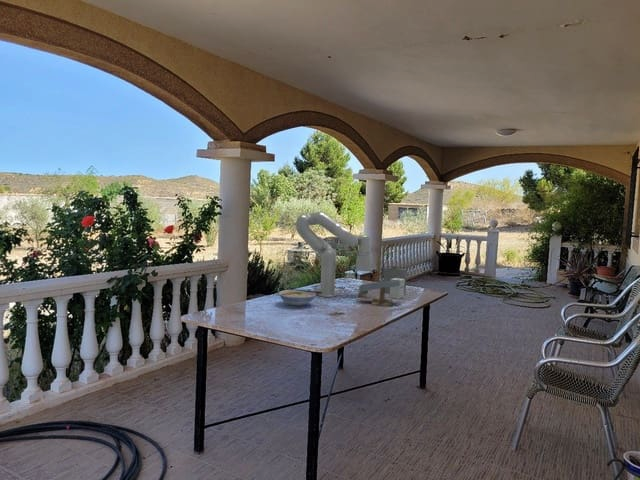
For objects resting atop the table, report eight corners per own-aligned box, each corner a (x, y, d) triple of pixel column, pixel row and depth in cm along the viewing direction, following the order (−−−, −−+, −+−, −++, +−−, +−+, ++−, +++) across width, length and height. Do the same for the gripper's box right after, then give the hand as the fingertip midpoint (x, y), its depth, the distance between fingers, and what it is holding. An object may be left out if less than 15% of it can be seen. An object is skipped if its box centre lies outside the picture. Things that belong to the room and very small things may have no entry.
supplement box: (399, 299, 307) (399, 280, 306) (389, 297, 311) (389, 278, 310) (404, 297, 312) (405, 279, 311) (394, 296, 317) (395, 277, 316)
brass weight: (357, 297, 309) (358, 286, 308) (358, 295, 314) (358, 285, 313) (365, 297, 308) (365, 287, 307) (365, 296, 313) (366, 286, 312)
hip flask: (405, 293, 326) (407, 265, 324) (404, 294, 322) (406, 266, 321) (383, 291, 332) (384, 264, 330) (382, 292, 328) (383, 264, 326)
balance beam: (360, 295, 290) (359, 287, 289) (362, 292, 299) (360, 284, 299) (400, 289, 285) (399, 281, 285) (400, 287, 295) (399, 279, 295)
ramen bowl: (269, 305, 275) (269, 292, 275) (289, 299, 295) (289, 286, 295) (305, 311, 264) (306, 297, 263) (324, 304, 284) (324, 291, 283)
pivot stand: (371, 305, 285) (372, 287, 284) (373, 299, 303) (373, 282, 302) (391, 306, 283) (392, 288, 282) (391, 300, 300) (392, 283, 300)
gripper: (350, 254, 306) (350, 279, 308) (376, 254, 303) (376, 280, 305) (351, 252, 314) (351, 277, 315) (377, 253, 311) (377, 278, 312)
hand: (363, 279), depth 310 cm, fingers open, 9 cm apart
